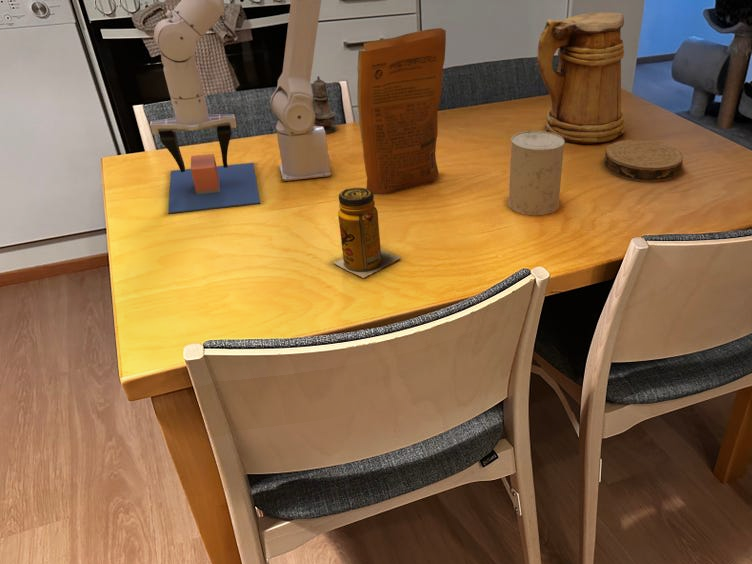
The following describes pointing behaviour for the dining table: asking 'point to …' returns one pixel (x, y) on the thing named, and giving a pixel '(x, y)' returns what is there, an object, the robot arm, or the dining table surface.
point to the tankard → (584, 76)
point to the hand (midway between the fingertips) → (204, 167)
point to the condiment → (361, 233)
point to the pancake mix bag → (400, 109)
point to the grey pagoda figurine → (322, 107)
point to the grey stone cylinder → (535, 172)
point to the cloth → (234, 191)
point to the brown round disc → (643, 160)
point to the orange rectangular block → (205, 174)
